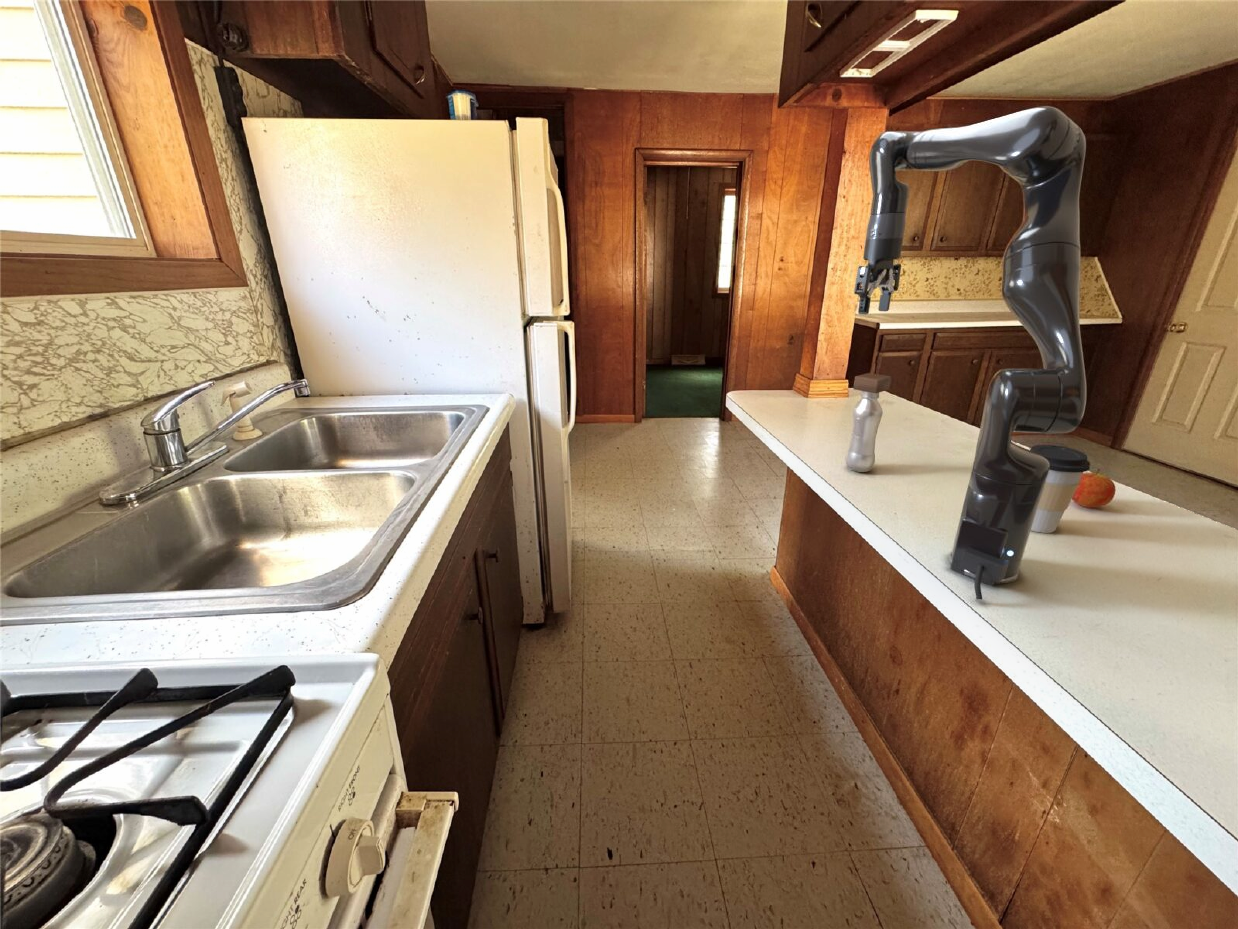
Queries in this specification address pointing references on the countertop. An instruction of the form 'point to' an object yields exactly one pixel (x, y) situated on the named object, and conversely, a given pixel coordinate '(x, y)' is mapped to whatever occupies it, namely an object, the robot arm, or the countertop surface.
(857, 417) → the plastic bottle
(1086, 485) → the fruit
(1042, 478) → the robot arm
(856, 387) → the walnut block
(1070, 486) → the coffee cup
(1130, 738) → the countertop surface
